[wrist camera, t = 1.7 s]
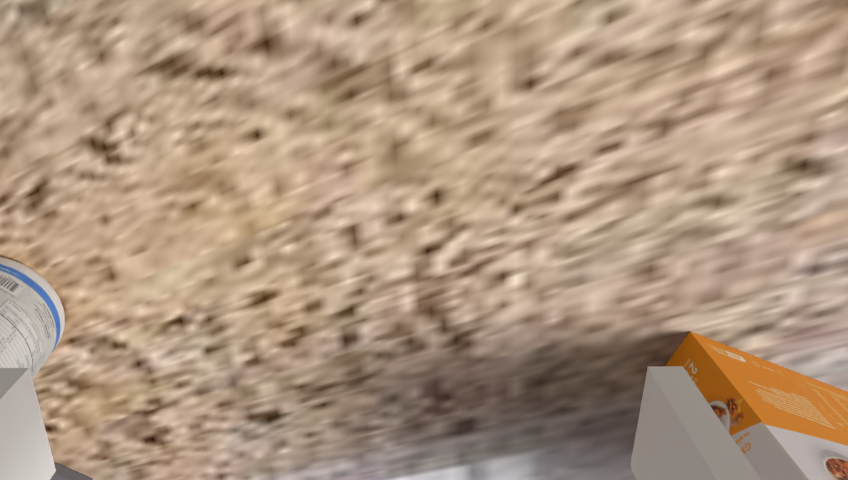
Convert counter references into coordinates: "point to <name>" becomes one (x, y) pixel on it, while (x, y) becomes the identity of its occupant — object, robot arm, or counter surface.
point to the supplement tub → (27, 317)
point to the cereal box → (771, 411)
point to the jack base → (67, 474)
